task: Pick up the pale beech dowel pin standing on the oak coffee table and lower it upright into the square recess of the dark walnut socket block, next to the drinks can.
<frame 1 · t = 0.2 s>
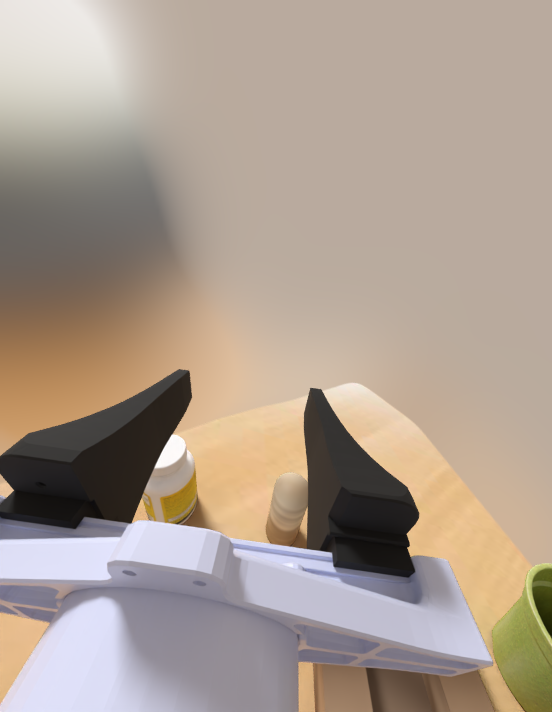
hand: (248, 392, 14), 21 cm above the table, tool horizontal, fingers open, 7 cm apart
socket block: (385, 671, 19), on the table
pin: (281, 529, 26), on the table
supplement bottle: (173, 505, 27), on the table
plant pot: (531, 677, 19), on the table
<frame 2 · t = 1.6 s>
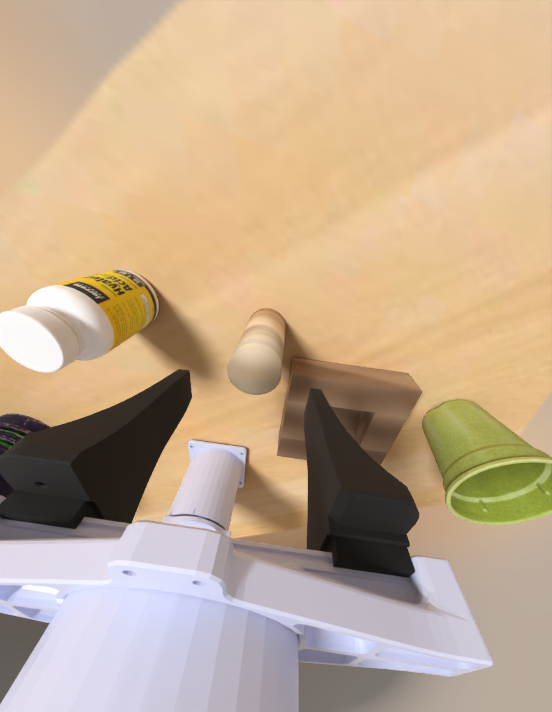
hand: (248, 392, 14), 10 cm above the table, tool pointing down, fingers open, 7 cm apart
socket block: (336, 408, 27), on the table
storage jar: (34, 436, 34), on the table
pin: (267, 326, 22), on the table
supplement bottle: (133, 297, 22), on the table
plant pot: (448, 417, 26), on the table
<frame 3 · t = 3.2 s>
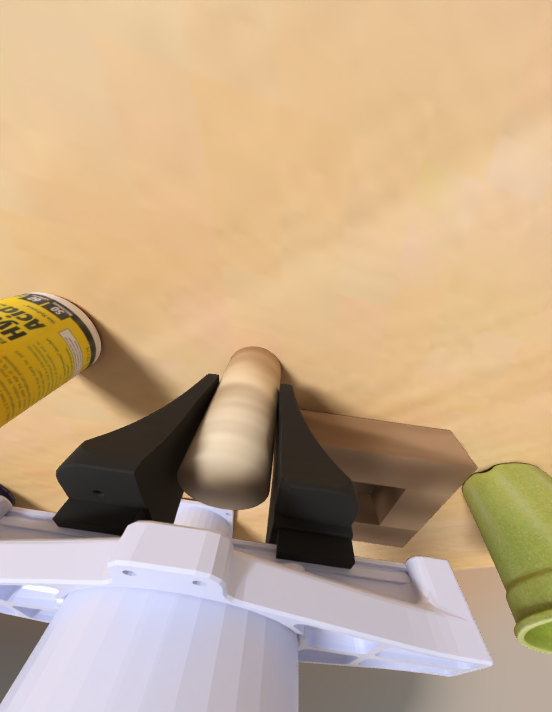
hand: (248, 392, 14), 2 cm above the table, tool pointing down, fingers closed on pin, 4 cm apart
socket block: (348, 467, 20), on the table
pin: (255, 369, 16), on the table, touching gripper
supplement bottle: (65, 329, 15), on the table
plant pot: (497, 480, 20), on the table
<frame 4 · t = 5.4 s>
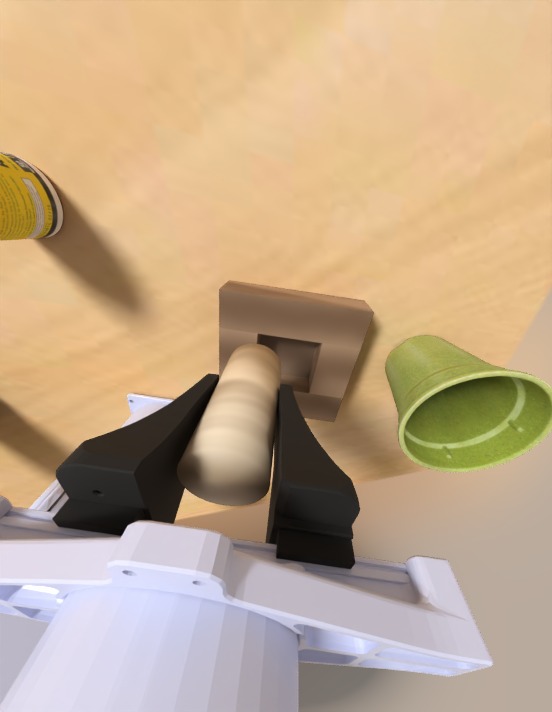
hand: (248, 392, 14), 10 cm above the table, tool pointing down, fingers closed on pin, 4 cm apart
socket block: (286, 349, 23), on the table
pin: (255, 366, 16), point 7 cm above the table, touching gripper
supplement bottle: (33, 199, 18), on the table
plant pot: (415, 361, 23), on the table
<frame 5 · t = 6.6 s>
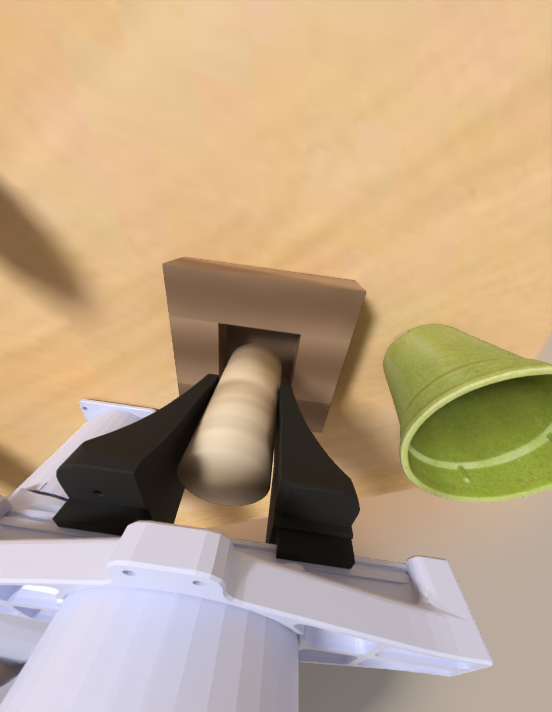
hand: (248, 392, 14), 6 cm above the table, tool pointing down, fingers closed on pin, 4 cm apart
socket block: (261, 344, 19), on the table
pin: (255, 366, 16), point 4 cm above the table, touching gripper
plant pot: (419, 356, 19), on the table
when the fingers open (4 cm above the table, at t = 7.5 s): pin stays where it is, resting on socket block.
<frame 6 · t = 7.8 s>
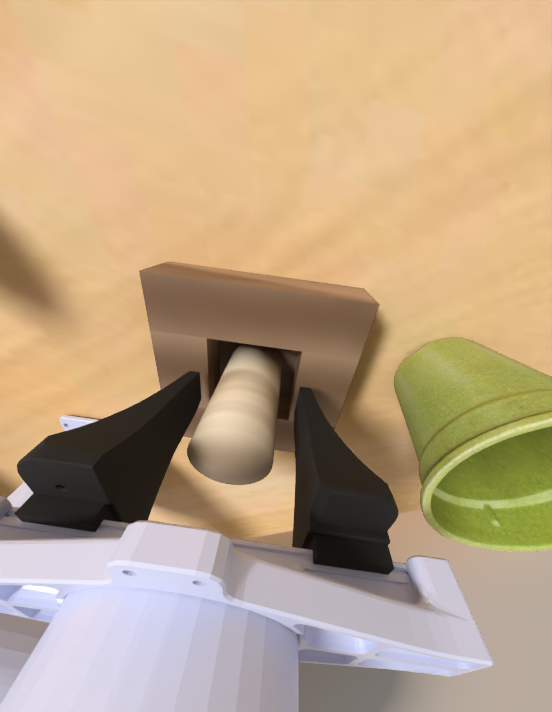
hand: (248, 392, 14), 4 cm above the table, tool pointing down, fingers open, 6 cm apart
socket block: (258, 358, 17), on the table
pin: (257, 360, 16), point 1 cm above the table, touching socket block
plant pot: (435, 372, 17), on the table
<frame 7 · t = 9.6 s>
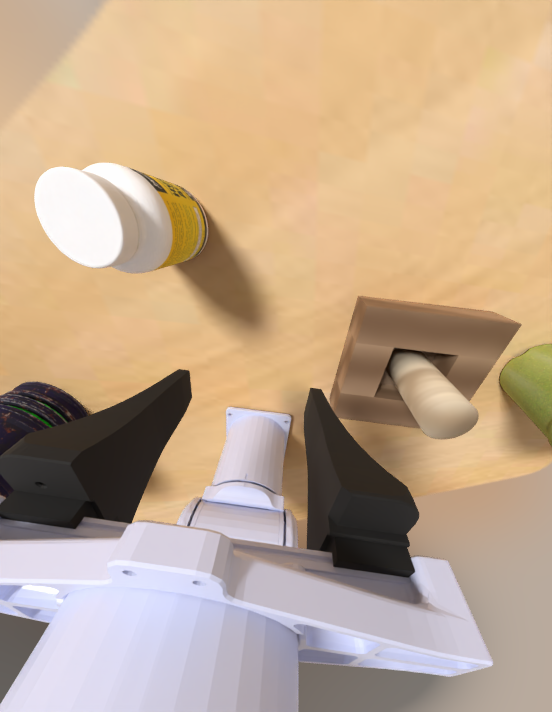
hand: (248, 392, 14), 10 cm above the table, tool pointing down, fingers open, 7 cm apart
socket block: (400, 360, 23), on the table
storage jar: (54, 409, 31), on the table
pin: (403, 362, 23), point 1 cm above the table, touching socket block
supplement bottle: (178, 224, 19), on the table
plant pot: (530, 369, 23), on the table
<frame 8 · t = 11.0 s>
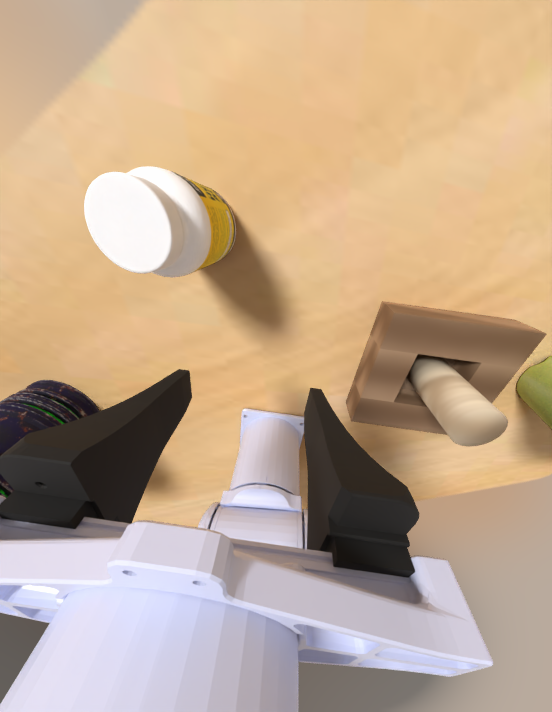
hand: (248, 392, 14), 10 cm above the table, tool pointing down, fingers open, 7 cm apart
socket block: (419, 366, 24), on the table
storage jar: (66, 407, 31), on the table
pin: (422, 367, 23), point 1 cm above the table, touching socket block
supplement bottle: (205, 226, 19), on the table
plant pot: (548, 376, 23), on the table
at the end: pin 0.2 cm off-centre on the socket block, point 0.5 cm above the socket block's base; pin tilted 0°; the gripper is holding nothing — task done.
